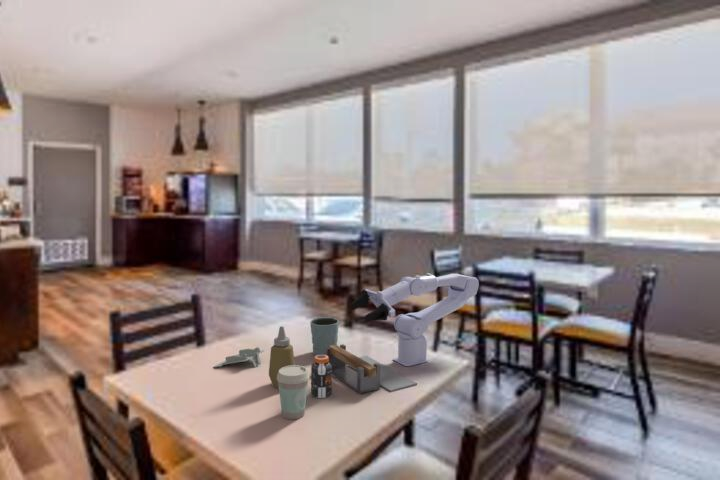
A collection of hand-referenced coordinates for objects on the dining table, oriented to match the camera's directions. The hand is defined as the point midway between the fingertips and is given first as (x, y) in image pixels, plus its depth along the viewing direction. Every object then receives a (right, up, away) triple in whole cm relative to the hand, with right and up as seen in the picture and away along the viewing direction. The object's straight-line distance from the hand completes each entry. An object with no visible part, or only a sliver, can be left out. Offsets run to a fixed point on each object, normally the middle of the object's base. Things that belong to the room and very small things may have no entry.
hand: (358, 313), depth 152 cm
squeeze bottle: (-23, -21, -7) cm, 32 cm away
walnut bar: (-2, -15, -2) cm, 16 cm away
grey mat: (+6, -20, +3) cm, 21 cm away
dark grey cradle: (-2, -20, -2) cm, 21 cm away
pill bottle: (-11, -22, -13) cm, 27 cm away
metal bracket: (-39, -19, +11) cm, 45 cm away
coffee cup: (-17, -23, -25) cm, 38 cm away
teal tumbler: (-12, -18, +21) cm, 30 cm away
